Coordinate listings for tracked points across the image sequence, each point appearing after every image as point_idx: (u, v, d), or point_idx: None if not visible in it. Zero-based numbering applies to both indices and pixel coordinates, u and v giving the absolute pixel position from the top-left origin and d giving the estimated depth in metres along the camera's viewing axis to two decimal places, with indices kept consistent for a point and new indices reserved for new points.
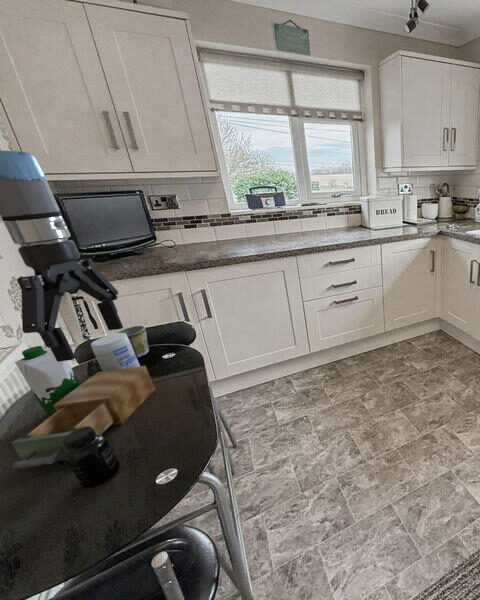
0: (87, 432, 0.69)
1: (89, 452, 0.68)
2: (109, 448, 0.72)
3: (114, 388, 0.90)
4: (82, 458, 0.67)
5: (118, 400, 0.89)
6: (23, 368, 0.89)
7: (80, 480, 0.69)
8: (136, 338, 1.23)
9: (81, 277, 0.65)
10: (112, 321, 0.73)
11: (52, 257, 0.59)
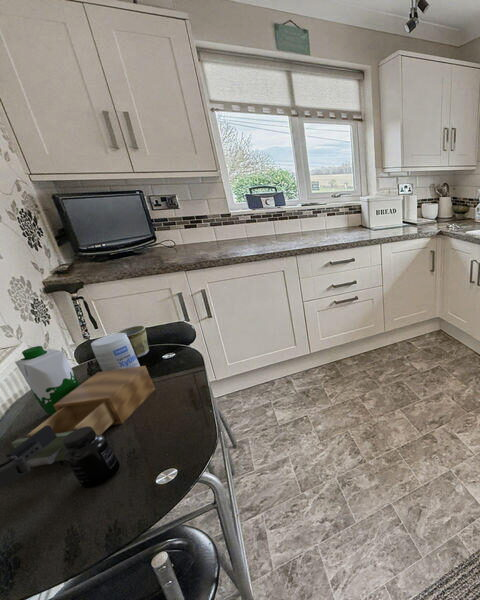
0: (87, 432, 0.69)
1: (89, 452, 0.68)
2: (109, 448, 0.72)
3: (114, 388, 0.90)
4: (82, 458, 0.67)
5: (118, 400, 0.89)
6: (23, 368, 0.89)
7: (80, 480, 0.69)
8: (136, 338, 1.23)
9: None
10: None
11: None
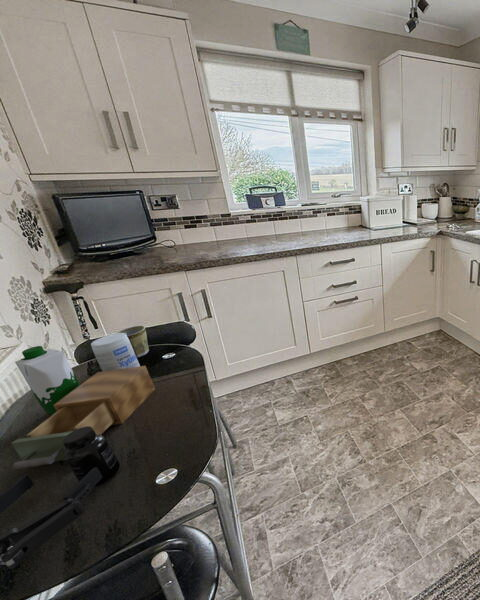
0: (87, 432, 0.69)
1: (89, 452, 0.68)
2: (109, 448, 0.72)
3: (114, 388, 0.90)
4: (82, 458, 0.67)
5: (118, 400, 0.89)
6: (23, 368, 0.89)
7: (80, 480, 0.69)
8: (136, 338, 1.23)
9: None
10: None
11: None
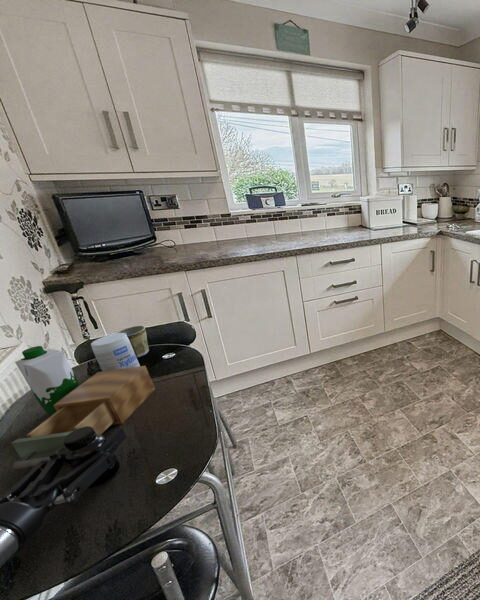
0: (88, 432, 0.69)
1: (89, 452, 0.68)
2: None
3: (114, 388, 0.90)
4: (82, 458, 0.67)
5: (118, 400, 0.89)
6: (23, 368, 0.89)
7: None
8: (136, 338, 1.23)
9: None
10: None
11: None
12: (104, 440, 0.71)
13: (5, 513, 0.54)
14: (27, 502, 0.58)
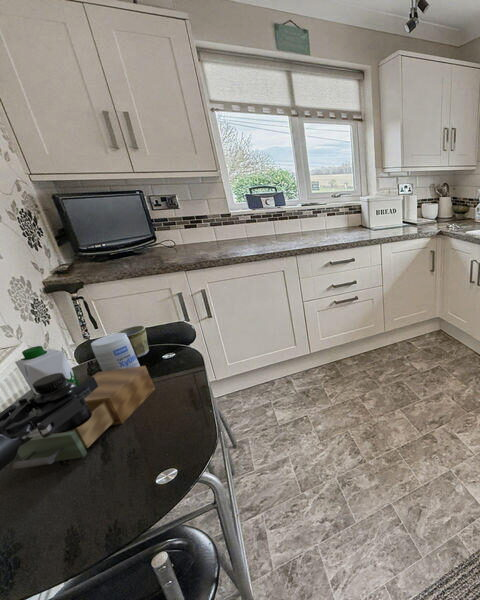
0: (58, 377, 0.70)
1: (61, 395, 0.69)
2: None
3: (114, 388, 0.90)
4: (53, 401, 0.69)
5: (118, 400, 0.89)
6: (23, 368, 0.89)
7: None
8: (136, 338, 1.23)
9: None
10: None
11: None
12: (75, 386, 0.73)
13: None
14: None
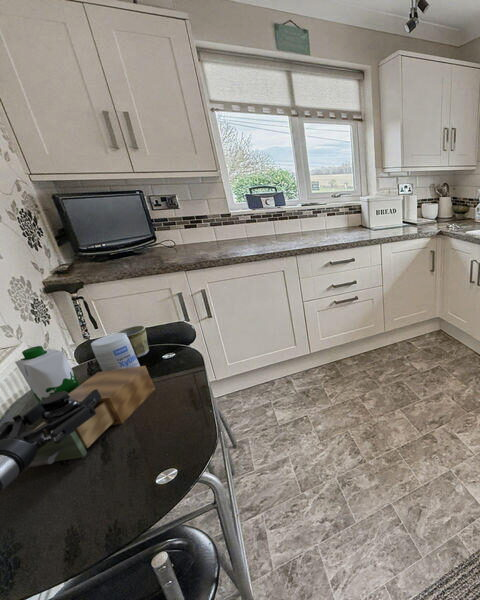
0: (64, 395, 0.79)
1: (67, 411, 0.79)
2: None
3: (114, 388, 0.90)
4: (61, 416, 0.78)
5: (118, 400, 0.89)
6: (23, 368, 0.89)
7: None
8: (136, 338, 1.23)
9: None
10: None
11: None
12: (78, 402, 0.82)
13: (4, 446, 0.64)
14: None
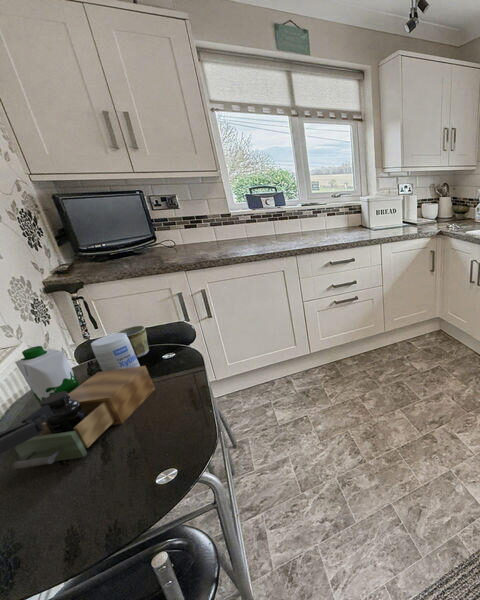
0: (64, 395, 0.79)
1: (67, 411, 0.79)
2: (83, 410, 0.83)
3: (114, 388, 0.90)
4: (61, 416, 0.78)
5: (118, 400, 0.89)
6: (23, 368, 0.89)
7: None
8: (136, 338, 1.23)
9: None
10: None
11: None
12: (78, 402, 0.82)
13: None
14: None
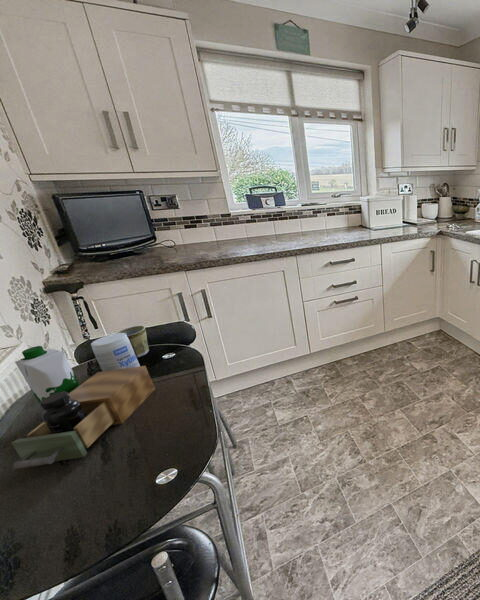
0: (64, 395, 0.79)
1: (67, 411, 0.79)
2: (83, 410, 0.83)
3: (114, 388, 0.90)
4: (61, 416, 0.78)
5: (118, 400, 0.89)
6: (23, 368, 0.89)
7: None
8: (136, 338, 1.23)
9: None
10: None
11: None
12: (78, 402, 0.82)
13: None
14: None
